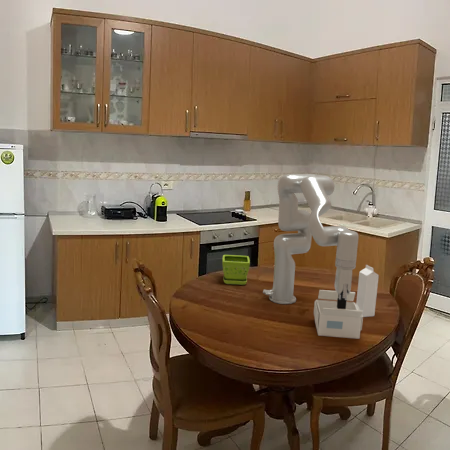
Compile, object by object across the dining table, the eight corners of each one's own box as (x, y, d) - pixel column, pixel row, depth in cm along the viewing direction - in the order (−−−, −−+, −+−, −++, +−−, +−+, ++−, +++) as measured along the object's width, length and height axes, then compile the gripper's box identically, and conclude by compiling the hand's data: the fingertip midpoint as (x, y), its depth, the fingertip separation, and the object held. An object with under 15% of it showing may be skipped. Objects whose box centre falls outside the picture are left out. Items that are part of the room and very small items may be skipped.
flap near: (321, 313, 191) (321, 314, 190) (323, 307, 187) (323, 308, 186) (360, 316, 190) (360, 317, 189) (362, 310, 185) (362, 311, 185)
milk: (362, 317, 214) (367, 268, 209) (355, 312, 220) (359, 264, 215) (374, 316, 216) (379, 268, 211) (367, 311, 221) (371, 264, 217)
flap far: (353, 301, 205) (353, 300, 205) (355, 292, 202) (355, 292, 202) (318, 298, 206) (318, 297, 207) (319, 290, 203) (319, 289, 203)
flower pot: (248, 286, 248) (250, 262, 245) (221, 285, 248) (222, 261, 245) (247, 278, 261) (249, 255, 259) (221, 277, 261) (222, 254, 259)
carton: (316, 335, 193) (318, 313, 191) (312, 319, 209) (314, 299, 207) (361, 338, 192) (363, 317, 190) (354, 322, 207) (356, 302, 205)
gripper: (333, 257, 194) (329, 301, 198) (338, 267, 179) (333, 315, 183) (352, 258, 193) (348, 302, 197) (358, 269, 179) (354, 316, 183)
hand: (341, 308), depth 190 cm, fingers closed
